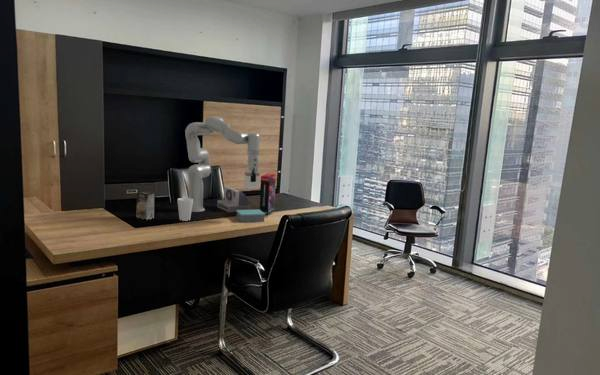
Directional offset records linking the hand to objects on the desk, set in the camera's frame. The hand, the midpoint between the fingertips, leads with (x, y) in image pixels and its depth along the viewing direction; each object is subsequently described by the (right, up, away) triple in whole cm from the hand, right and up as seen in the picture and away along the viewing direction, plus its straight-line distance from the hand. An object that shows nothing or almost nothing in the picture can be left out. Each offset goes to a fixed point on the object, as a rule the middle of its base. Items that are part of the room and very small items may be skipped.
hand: (251, 180), depth 281 cm
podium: (-1, -25, +4) cm, 26 cm away
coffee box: (-65, -24, -10) cm, 70 cm away
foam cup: (-41, -25, -7) cm, 49 cm away
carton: (0, -4, +1) cm, 4 cm away
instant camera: (-17, -20, +34) cm, 42 cm away
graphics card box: (+8, -23, +26) cm, 36 cm away
